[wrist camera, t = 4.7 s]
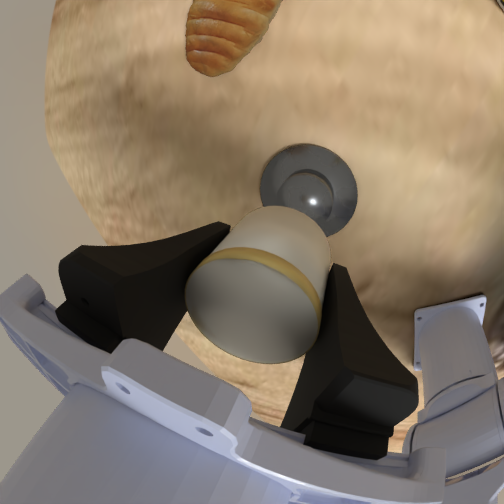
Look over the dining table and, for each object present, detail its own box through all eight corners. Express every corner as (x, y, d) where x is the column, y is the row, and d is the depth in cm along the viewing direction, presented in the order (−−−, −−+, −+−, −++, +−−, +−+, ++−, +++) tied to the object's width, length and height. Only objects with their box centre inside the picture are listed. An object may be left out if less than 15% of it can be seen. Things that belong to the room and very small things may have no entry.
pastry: (249, 88, 18) (229, 85, 15) (179, 67, 19) (151, 64, 16) (293, -10, 13) (281, -30, 10) (217, -23, 13) (194, -39, 10)
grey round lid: (367, 226, 21) (368, 240, 19) (280, 244, 24) (273, 259, 22) (340, 132, 18) (339, 135, 16) (247, 161, 21) (236, 168, 19)
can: (300, 310, 14) (279, 379, 11) (218, 265, 15) (174, 322, 11) (352, 239, 11) (349, 307, 8) (252, 185, 12) (203, 228, 8)
